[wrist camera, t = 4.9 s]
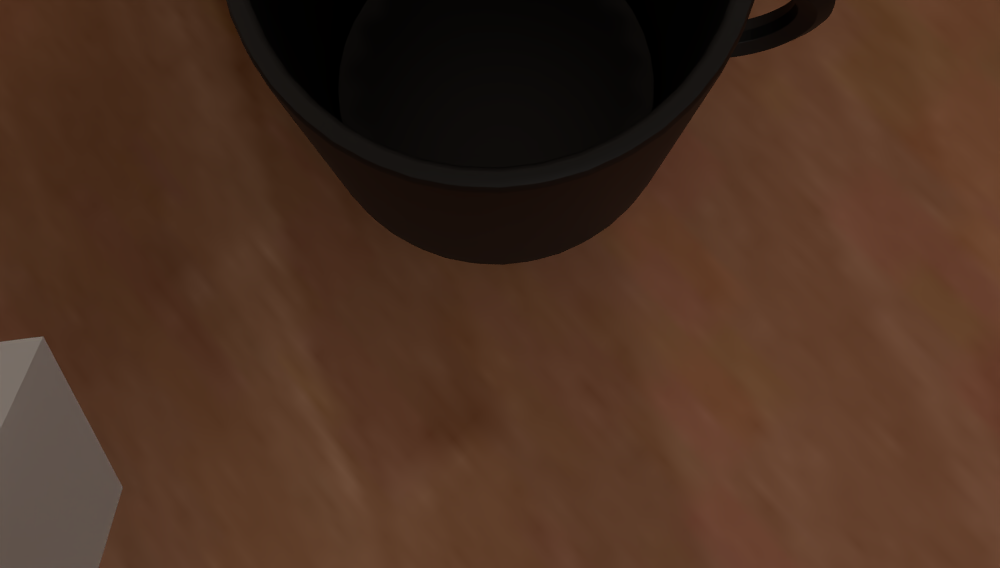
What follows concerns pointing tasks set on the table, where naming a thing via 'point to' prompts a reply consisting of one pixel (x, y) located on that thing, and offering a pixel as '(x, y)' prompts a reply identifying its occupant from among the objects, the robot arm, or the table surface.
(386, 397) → the table surface
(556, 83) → the mug
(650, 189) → the table surface
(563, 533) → the table surface
